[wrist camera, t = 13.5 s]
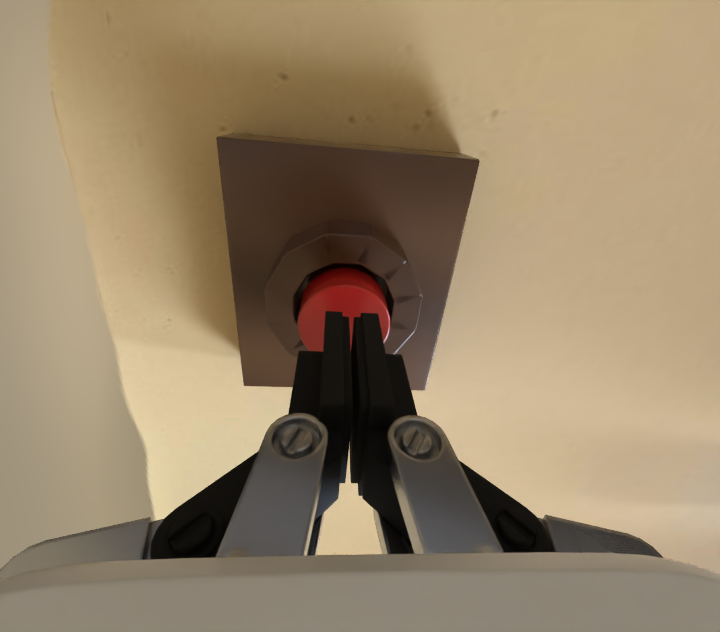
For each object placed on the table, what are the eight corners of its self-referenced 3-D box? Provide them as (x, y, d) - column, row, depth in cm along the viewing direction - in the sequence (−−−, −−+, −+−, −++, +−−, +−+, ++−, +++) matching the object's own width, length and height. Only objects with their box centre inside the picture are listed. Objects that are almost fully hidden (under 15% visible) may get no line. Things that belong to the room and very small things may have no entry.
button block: (231, 133, 15) (199, 139, 11) (463, 153, 15) (498, 166, 12) (252, 361, 21) (235, 411, 17) (417, 366, 22) (433, 415, 18)
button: (301, 264, 14) (296, 282, 12) (390, 269, 14) (396, 288, 13) (301, 338, 16) (297, 362, 14) (380, 341, 16) (384, 365, 15)
